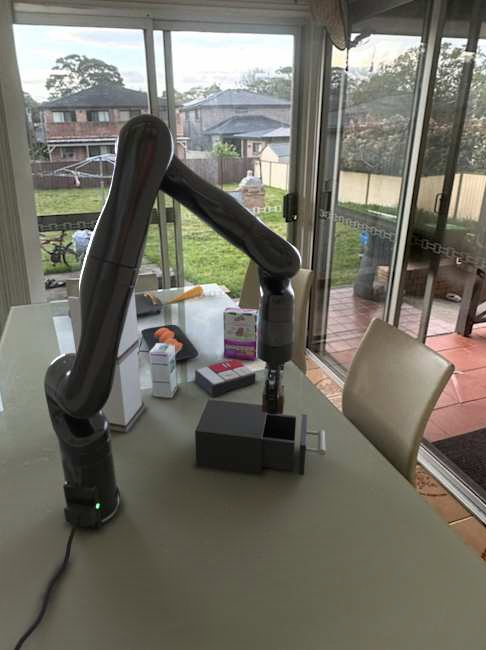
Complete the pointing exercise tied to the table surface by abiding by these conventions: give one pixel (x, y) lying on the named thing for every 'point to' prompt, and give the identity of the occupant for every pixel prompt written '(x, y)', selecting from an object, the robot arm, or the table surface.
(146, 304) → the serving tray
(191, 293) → the carrot
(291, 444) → the drawer
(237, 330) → the candy bar box
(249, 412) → the cabinet
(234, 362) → the calculator
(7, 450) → the table surface
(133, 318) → the tall white pillar
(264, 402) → the block
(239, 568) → the table surface
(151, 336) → the sushi plate
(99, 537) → the table surface
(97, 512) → the robot arm
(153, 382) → the syrup box
